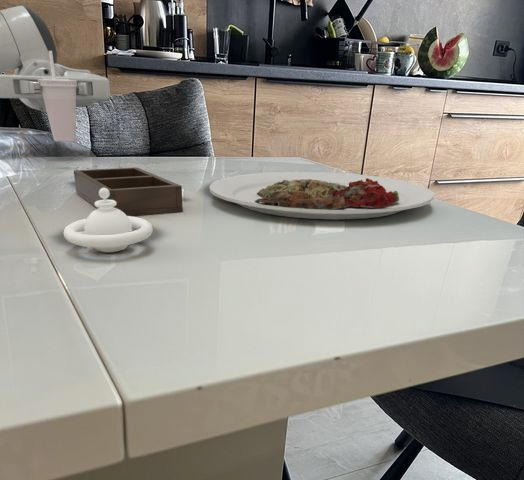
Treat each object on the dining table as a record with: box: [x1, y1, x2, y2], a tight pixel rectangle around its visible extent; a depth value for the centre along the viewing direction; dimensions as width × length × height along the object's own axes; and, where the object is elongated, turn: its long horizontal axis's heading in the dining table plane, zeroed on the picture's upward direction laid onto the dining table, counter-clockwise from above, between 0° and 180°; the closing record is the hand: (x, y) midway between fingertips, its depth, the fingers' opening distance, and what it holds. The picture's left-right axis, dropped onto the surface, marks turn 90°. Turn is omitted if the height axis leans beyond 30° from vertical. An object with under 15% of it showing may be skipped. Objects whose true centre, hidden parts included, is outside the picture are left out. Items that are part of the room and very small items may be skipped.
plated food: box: [208, 171, 435, 220], centre depth 74 cm, size 30×30×3 cm
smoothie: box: [38, 51, 78, 142], centre depth 94 cm, size 6×6×14 cm
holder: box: [73, 166, 184, 217], centre depth 72 cm, size 9×17×3 cm, turn 29°
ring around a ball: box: [63, 188, 154, 253], centre depth 50 cm, size 8×6×8 cm
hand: (59, 88), depth 93 cm, fingers closed on smoothie, 6 cm apart
